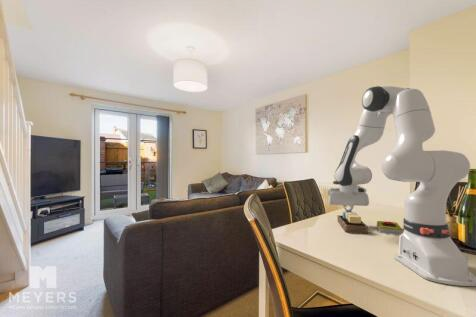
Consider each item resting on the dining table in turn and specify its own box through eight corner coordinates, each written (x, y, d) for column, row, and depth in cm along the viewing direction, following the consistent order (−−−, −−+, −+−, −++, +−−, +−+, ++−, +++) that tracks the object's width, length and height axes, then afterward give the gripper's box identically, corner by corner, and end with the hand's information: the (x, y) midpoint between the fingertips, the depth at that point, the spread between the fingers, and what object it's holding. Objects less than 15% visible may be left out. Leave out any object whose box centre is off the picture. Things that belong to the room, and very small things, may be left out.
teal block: (354, 221, 120) (354, 214, 120) (344, 221, 121) (344, 213, 121) (352, 219, 124) (352, 212, 124) (342, 218, 125) (342, 212, 125)
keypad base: (368, 233, 106) (368, 226, 106) (345, 232, 108) (345, 225, 108) (356, 222, 125) (356, 216, 125) (337, 221, 127) (337, 215, 127)
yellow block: (361, 225, 108) (360, 217, 108) (350, 224, 109) (349, 216, 109) (358, 222, 112) (358, 215, 112) (347, 222, 113) (347, 214, 113)
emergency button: (379, 224, 107) (375, 217, 120) (379, 233, 106) (376, 225, 120) (402, 227, 102) (396, 219, 116) (403, 236, 102) (396, 227, 116)
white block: (357, 221, 114) (357, 214, 114) (347, 221, 115) (347, 213, 115) (355, 219, 118) (355, 212, 118) (345, 219, 119) (345, 211, 119)
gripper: (328, 188, 122) (329, 213, 122) (369, 189, 117) (370, 215, 117) (327, 187, 128) (327, 211, 128) (365, 187, 123) (366, 212, 123)
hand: (348, 213), depth 122 cm, fingers closed, pressing on teal block
